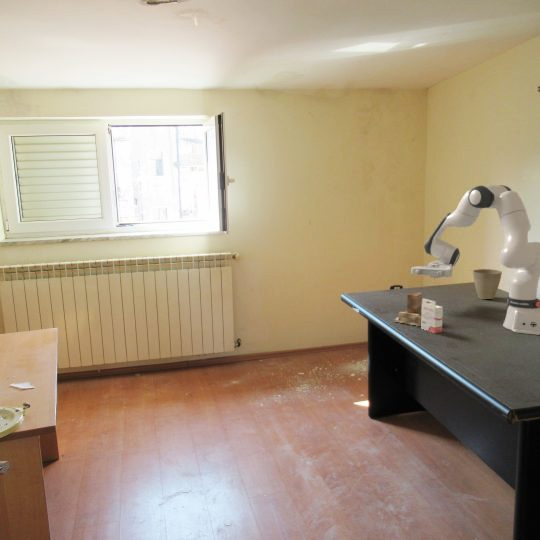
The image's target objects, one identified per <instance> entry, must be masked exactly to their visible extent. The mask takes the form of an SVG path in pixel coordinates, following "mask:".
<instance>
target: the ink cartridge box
mask: <svg viewBox="0 0 540 540" xmlns="http://www.w3.org/2000/svg"><path fill="white" fill-rule="evenodd" d="M443 311H444V307H443V306H441V305H437V302H436V301H434V300H431V299H429V298H423V297H422V304H421V312H422V314H421V327H420V328H421V330H423V329H424V330H423V331H426V330H427V331H426V332H429V333H431V332H432V333H431V334H437V333H442V332H443V316H444V315H443V313H444V312H443Z"/></svg>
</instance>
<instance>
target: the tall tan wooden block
mask: <svg viewBox="0 0 540 540" xmlns="http://www.w3.org/2000/svg"><path fill="white" fill-rule="evenodd" d="M406 298H407V300H406V301H407V302H406V303H407V304H406V311H407V313H413V314H419V315H420V314H421V312H422V300H423V293H422V292H418V291H417V292H416V291H411V292H410V293H408V294H407V297H406Z"/></svg>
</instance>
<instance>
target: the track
mask: <svg viewBox="0 0 540 540" xmlns="http://www.w3.org/2000/svg"><path fill="white" fill-rule="evenodd" d="M421 314H422V311H421ZM421 314H420V315H419V314H413V313H407V310H405V311H398V317H396V318H394V319H393V323H394V322H400V323H405V324H404V325H406V324H410V325H409V326H412V325H416V326H415V327H418V326H421ZM400 323H399V324H400Z"/></svg>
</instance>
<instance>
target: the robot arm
mask: <svg viewBox="0 0 540 540" xmlns="http://www.w3.org/2000/svg"><path fill="white" fill-rule="evenodd" d="M482 209H495V210H496V211H497V214H498V217H499V220H500V221H499V222H500V224H501V228H502V231H503V236H504V238H503V239H504V241H503V242H504V243H503V247H502V249H501V251H500V253H499V261H500V263H501V264H502V265H503V266H504V267H505V268H509V269H514V270H516V271H515V273H514V275H513V276H512V277H511V278H510V280H509V288H508V290H509V291H508V295H507V301H506V309H507V311H506V314H505V319H504V321H503V323H502V326H503V327H504V328H505V329H508V330H510V331H512V332H514V333H517V334H527V335H535V336H536V335H538V336H540V299H539V298H537V297H538V294H537V293H538V287H539V286H538V284H539V280H540V242H538V241H532V242H531V241H530V242H529V241H528V235H529V231H531V228H532V227H531V225H532V224H531V223H530V219H529V215H528V213H527V210H526V208H525V204H524V202H523V200H522V198H521V197H520V195H519V193H518V192H516V191H514V190H512V189H511V188H510V187H509V186H506V185H502V184H500V185H497V184H486V185H477V186H475V187H472V188H471V189H469V190H467V191H466V192H465V194H463V196H462V198H461V199H460V201H459V202H458V205H457V206H456V209H455V210H454V211H453V212H449V213H447V214H446V215H445V216H444V217H443V218H442V220H441V221H440V222H439V224H438V225H437V226H436V228H435V230H434V231H433V233H432V234H431V236H430V237H429V238H428V239H427V240H426V242H425V243H424V246H423V248H424V250H425V253H426V254H428V255H430V256H432V257H434V258H436V260H433V261H431V262H429V263H428V264H427V266H424V265H418V266H417V265H416V266H412V267H411V269H410V273H411V275H415V276H416V275H419V276H429V278H432V279H438V278H451V277H453V267H455V266H456V264H457V262H458V261H459V259H460V257H461V255H460V253H461V252H460V249H459V247H456V246H455V245H453V244H451V243H448V242H447V241H445V240H443V239H442V238H441V237H442V235H444V233H445V231H446V230H447V228H449V227H451V228H452V227H455V228H467V227H470V226H472V225H474V224H475V222H476V221H477V219H478V217H479V216H480V213H481V212H482Z"/></svg>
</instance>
